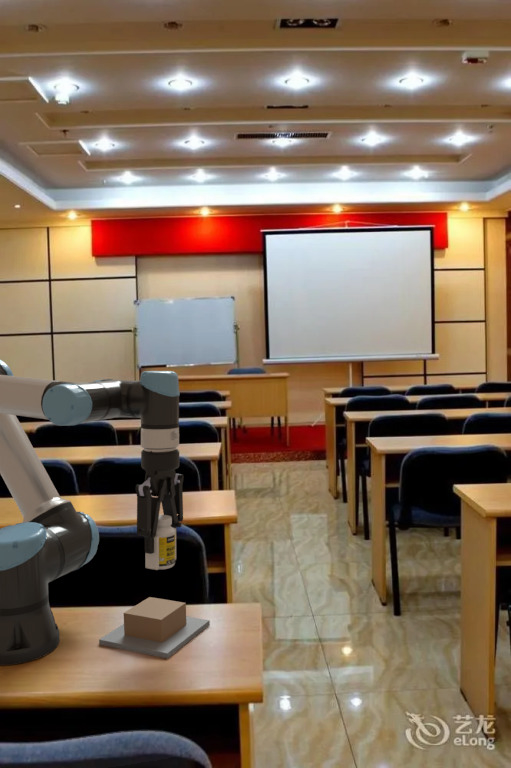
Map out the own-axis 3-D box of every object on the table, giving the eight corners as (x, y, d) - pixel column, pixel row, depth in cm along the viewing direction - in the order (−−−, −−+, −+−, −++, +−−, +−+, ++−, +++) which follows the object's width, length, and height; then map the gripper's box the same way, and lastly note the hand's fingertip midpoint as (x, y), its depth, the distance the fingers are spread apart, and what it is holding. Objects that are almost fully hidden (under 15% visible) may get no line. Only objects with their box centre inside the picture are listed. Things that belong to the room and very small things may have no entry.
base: (99, 644, 126) (98, 617, 126) (146, 613, 140) (145, 589, 140) (167, 658, 119) (166, 629, 119) (209, 624, 133) (208, 599, 133)
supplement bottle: (169, 571, 124) (169, 521, 124) (143, 569, 126) (143, 520, 125) (178, 562, 130) (178, 514, 129) (153, 559, 131) (153, 512, 130)
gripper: (148, 457, 116) (149, 581, 118) (200, 443, 133) (200, 553, 134) (115, 454, 120) (117, 575, 121) (170, 441, 136) (171, 548, 138)
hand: (161, 563), depth 128 cm, fingers closed on supplement bottle, 5 cm apart
